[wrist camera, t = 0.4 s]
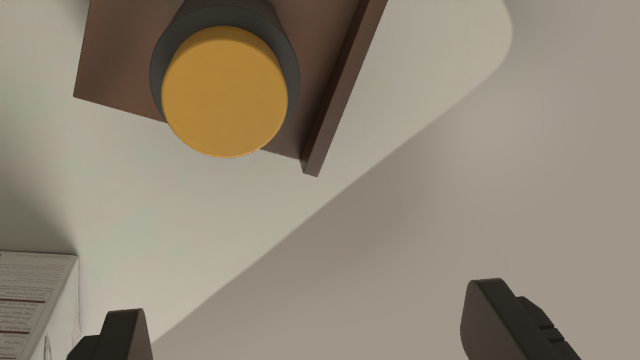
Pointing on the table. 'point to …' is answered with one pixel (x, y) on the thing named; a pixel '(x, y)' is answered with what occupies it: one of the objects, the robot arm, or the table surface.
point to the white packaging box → (38, 305)
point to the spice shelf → (302, 31)
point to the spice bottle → (225, 76)
